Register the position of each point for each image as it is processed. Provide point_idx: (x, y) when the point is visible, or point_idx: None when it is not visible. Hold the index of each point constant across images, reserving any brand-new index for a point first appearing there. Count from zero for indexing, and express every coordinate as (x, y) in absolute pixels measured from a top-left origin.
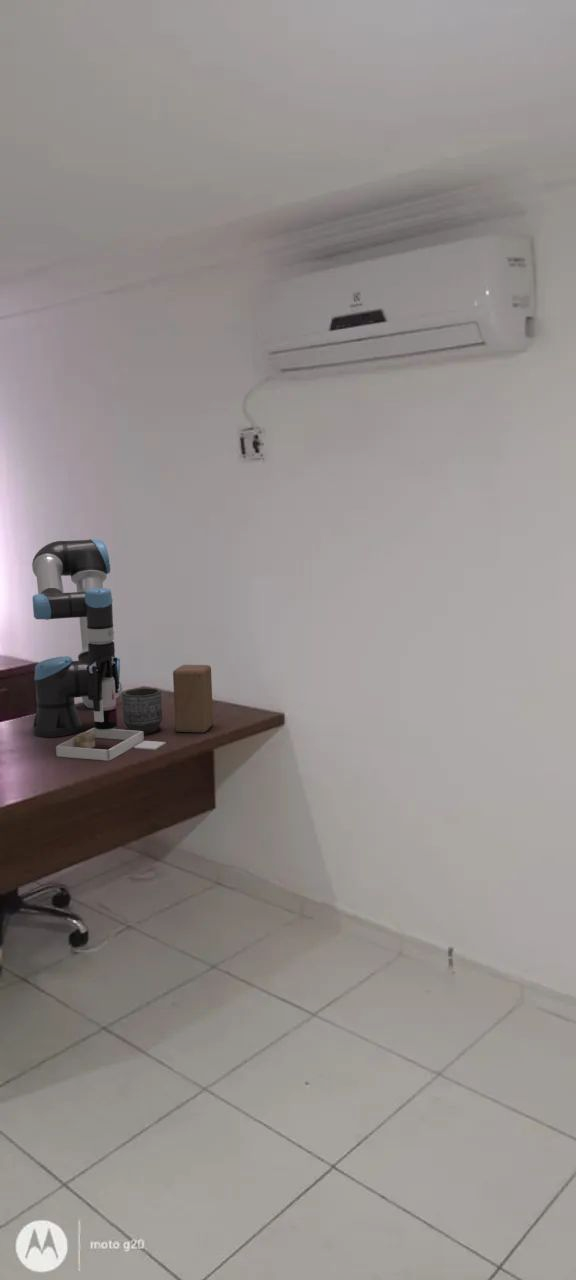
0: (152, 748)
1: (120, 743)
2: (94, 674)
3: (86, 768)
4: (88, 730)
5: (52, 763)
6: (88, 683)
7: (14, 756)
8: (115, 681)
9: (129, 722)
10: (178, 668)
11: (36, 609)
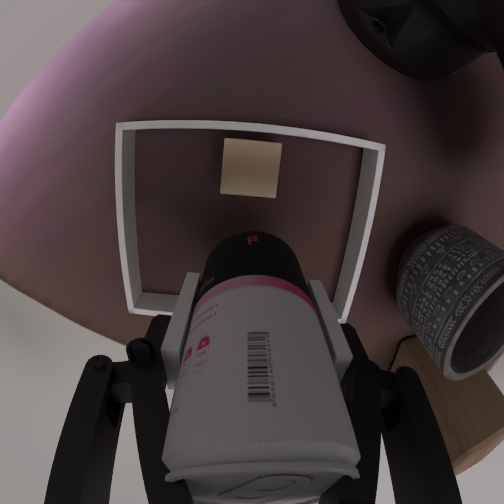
0: None
1: None
2: None
3: (72, 268)
4: (347, 138)
5: (73, 156)
6: (58, 451)
7: (116, 10)
8: (388, 439)
9: (410, 265)
10: (481, 452)
11: None
